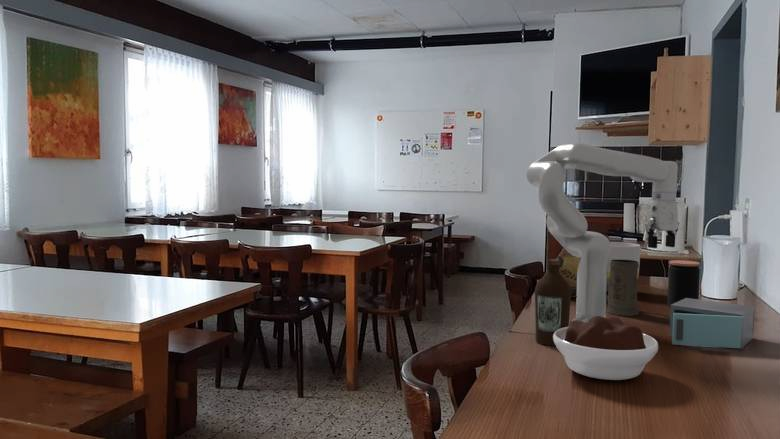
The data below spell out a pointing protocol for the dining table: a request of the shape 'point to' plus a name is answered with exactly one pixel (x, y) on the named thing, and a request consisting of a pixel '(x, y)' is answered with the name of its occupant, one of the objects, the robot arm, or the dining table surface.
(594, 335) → the white dessert bowl
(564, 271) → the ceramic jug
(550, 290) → the olive oil
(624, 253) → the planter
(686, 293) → the coffee jar
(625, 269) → the beer stein
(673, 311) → the grey cabinet
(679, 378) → the dining table surface
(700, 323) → the side door
